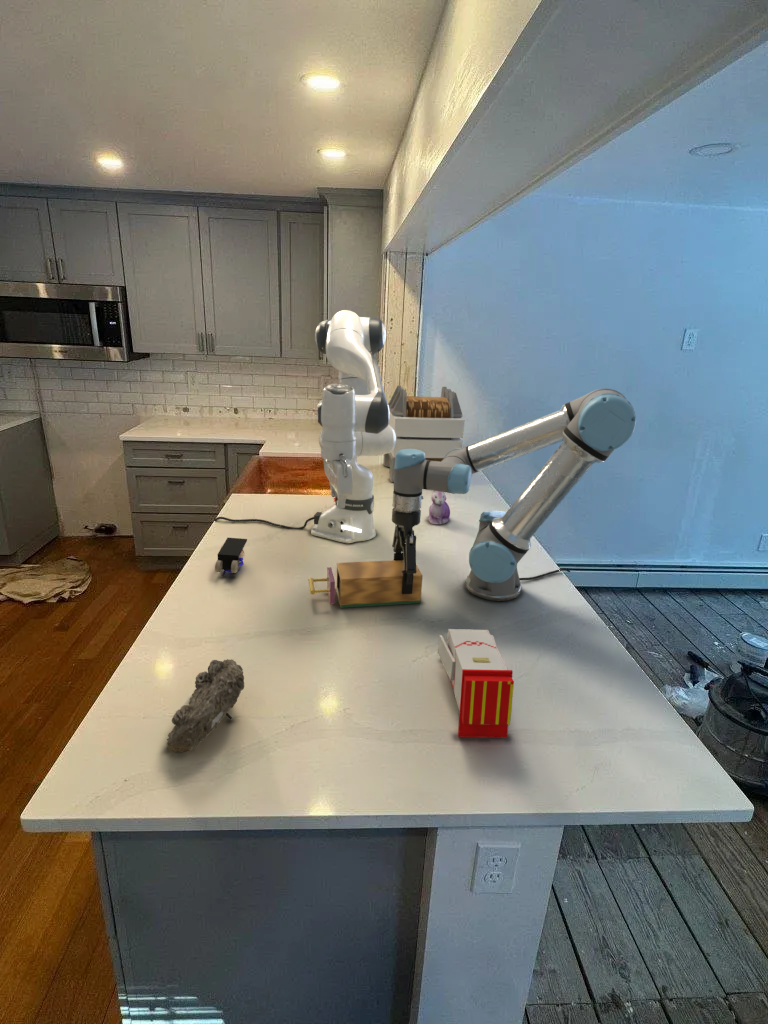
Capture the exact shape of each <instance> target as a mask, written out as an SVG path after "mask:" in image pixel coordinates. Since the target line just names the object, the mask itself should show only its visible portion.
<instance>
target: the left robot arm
mask: <svg viewBox="0 0 768 1024" xmlns="http://www.w3.org/2000/svg"><path fill="white" fill-rule="evenodd" d="M386 339H387V329H386V326H385V324H384V322H383V320H382V319H381V318H380V317H376V316H369V317H368V316H359V315H358V314H357V313H356V312H354V311H353V310H349V309H343V310H339V311H337V312H336V313H335V314H334V315H333V316H332V317H331V320H330V319H326V320H322V321H320V322H319V323H318V324H317V325H316V327H315V333H314V341H315V344H316V346H317V348H318V351H319V352H320V353H321V354H323V355H325V356H326V360H327V362H328V363H329V364H330V365H331V367H332V368H333V369H334V370H336V371H338V382H337V383H336V382H335V383H329V384H328V385H326V386H324V388H323V392H322V398H321V400H319V401H318V403H317V423H318V424H319V425H320V426H321V428H322V429H321V431H320V432H319V437H318V444H319V447H320V458H322V460H323V470H324V474H325V477H326V478H327V480H328V482H329V487H330V497H332V498H333V502H334V504H333V505H331V506H329V507H328V508H326V509H325V510H323V512H322V511H316V512H315V514H314V515H313V516H312V517H309V518H307V519H306V520H305V522H304V523H303V526H299V527H292V526H288V525H284V524H280V523H275V522H272V521H269V520H265V519H260V518H259V519H258V518H245V519H233V518H232V519H231V518H228V517H225V516H218V517H215V518H214V519H213V520H212V521H213V522H217V521H218V520H224V521H227V522H232V523H244V522H260V523H264V524H268V525H271V526H274V527H278V528H284V529H287V530H289V529H290V530H303V529H305V528H306V527H307V526H308V525H307V524H308V523H309V522H311V521H313V526H312V528H311V530H310V533H311V536H315V537H319V538H323V539H326V540H330V541H336V542H339V543H343V544H352V543H357V542H365V541H368V540H372V539H373V538H375V537H376V535H377V532H376V528H375V523H374V513H373V512H374V509H375V496H374V474H373V472H372V471H371V469H369V468H368V467H366V466H364V465H362V464H359V463H358V459H357V458H358V457H378V456H382V455H383V456H384V454H387V453H390V452H391V451H392V450H393V449H394V447H395V444H396V434H395V431H394V429H393V428H392V427H391V426H390V425H389V424H388V423H389V419H390V410H389V406H388V403H389V402H388V399H387V397H386V393H385V390H384V386H383V381H382V378H381V372H380V368H379V364H378V360H377V358H376V354H378V353H379V352H381V351H382V349H383V348H384V346H385V343H386V341H387V340H386Z"/></svg>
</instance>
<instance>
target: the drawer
mask: <svg viewBox="0 0 768 1024" xmlns="http://www.w3.org/2000/svg"><path fill="white" fill-rule="evenodd" d="M332 568H333V567H332V566H330V567H329V566H328V567H326V577H323V578H321V577H320V578H313V577H309V578H307V581H308V587H309V593H310V595H311V596H313V595H315V594H318V593H319V594H323V593H327V595H328V600H329V604H330V605H333V604H334V605H335V604H336V592H337V591H338V595H339V599H340V588H341V580H340V576H339V573H338V569H337V568H336V578H337V591H336V581H335V576H334V572H333V569H332ZM314 582H326V588H325V589H315V587H316V586H315V583H314ZM338 595H337V596H338ZM339 599H338V600H339Z"/></svg>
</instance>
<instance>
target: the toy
mask: <svg viewBox="0 0 768 1024" xmlns="http://www.w3.org/2000/svg"><path fill="white" fill-rule="evenodd" d="M446 640H447V643H446V641H445V639H444V636H443V635H442V634H439V637H438V646H437V656H438V657H439V659H440V661H441V663H442V666H443V668H444V670H445V672H446V674H447V677H448V679H449V681H450V684H451V687H452V690H453V693H454V697H455V701H456V705H457V708H458V711H459V714H458V715H459V716H458V730H457V731H458V732H457V737H458V738H508V731H509V726H510V725H511V717H512V707H513V697H514V696H513V695H514V684H515V680H514V679H513V673H514V671H513V670H512V669H508V667H507V665H506V662H505V661H504V659H503V658H502V655H501V653H500V651H499V649H498V647H497V643H496V639H495V637H494V635H493V634H491V632H490V631H489V629H467V628H466V629H465V628H463V629H461V628H460V629H459V628H448V630H447V639H446Z"/></svg>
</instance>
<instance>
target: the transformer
mask: <svg viewBox="0 0 768 1024" xmlns="http://www.w3.org/2000/svg"><path fill="white" fill-rule="evenodd" d="M440 393H441V394H440V396H415V395H414V396H413V395H412V396H411V395H407V394H408V393H407V390H406V389H404V388H403V387H402V385H399V384H398V385H397V386H396V388H395V390H394V392H393V394H392V395H391V398H390V400H389V402H387V403H388V406H389V410H390V419H389V423H388V424H389V425H390V426H391V427H392V428H393V429H394V431H395V434H396V444H395V447H394V449H393V450H392V451H391V452H390V453H387V454H383V466H384V467H388V468H389V475H388V476H389V477H388V478H389V480H390V482H391V483H394V467H395V459H396V453H397V452H398V451H400V450H402V449H417V450H421V451H423V452H424V454H425V460H430V461H439V462H441V461H442V460H443V459H444V457H445V455H446V454H447V453H448V452H450V451H452V450H454V449H461V448H463V442H464V441H463V440H462V439H463V438H464V431H465V430H464V429H465V419H464V418H463V411H462V408H461V405H460V402H459V398H458V395H457V392H455V391H453V390H452V389H451V388H447V386H442V387H441V392H440Z"/></svg>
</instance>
